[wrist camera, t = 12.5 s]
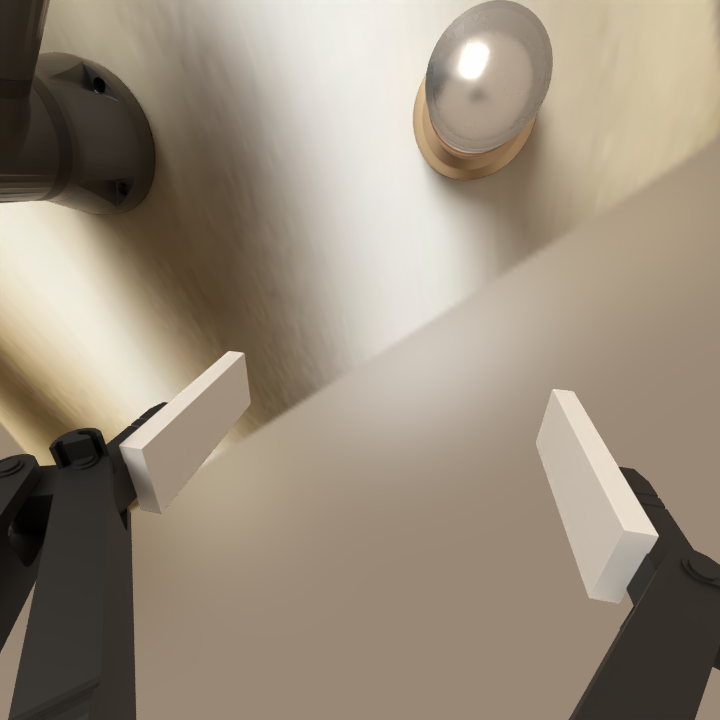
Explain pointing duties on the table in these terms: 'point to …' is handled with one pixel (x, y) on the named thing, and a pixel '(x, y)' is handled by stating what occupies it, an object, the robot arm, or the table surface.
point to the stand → (454, 165)
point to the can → (487, 77)
